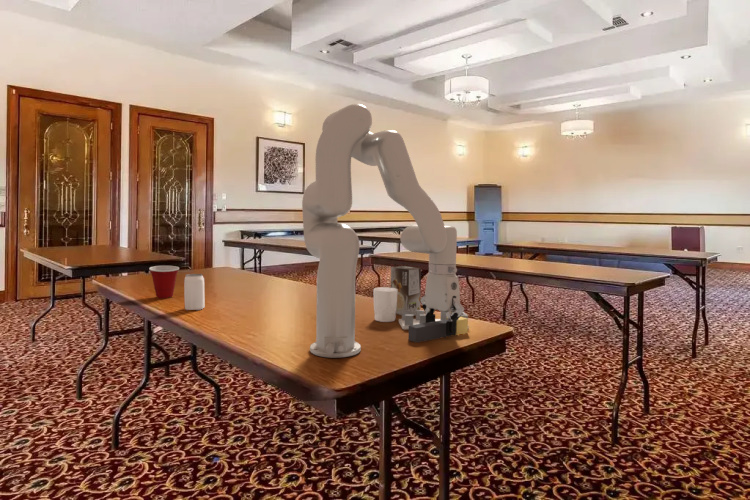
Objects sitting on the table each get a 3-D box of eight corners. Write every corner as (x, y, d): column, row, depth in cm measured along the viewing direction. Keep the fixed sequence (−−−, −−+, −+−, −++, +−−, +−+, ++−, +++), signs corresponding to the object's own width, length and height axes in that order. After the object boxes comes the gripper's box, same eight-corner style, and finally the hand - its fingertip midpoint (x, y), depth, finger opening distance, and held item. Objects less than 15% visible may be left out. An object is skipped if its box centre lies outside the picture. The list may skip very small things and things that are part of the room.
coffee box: (421, 314, 155) (422, 268, 154) (408, 317, 151) (409, 269, 150) (402, 310, 162) (403, 265, 161) (389, 312, 158) (390, 266, 156)
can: (185, 307, 160) (185, 273, 159) (205, 306, 162) (204, 273, 161) (183, 311, 154) (183, 276, 153) (204, 310, 156) (203, 275, 155)
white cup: (393, 323, 142) (393, 292, 141) (369, 321, 144) (369, 290, 143) (399, 318, 149) (400, 288, 148) (377, 316, 152) (377, 286, 151)
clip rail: (468, 329, 136) (468, 315, 136) (402, 329, 135) (403, 316, 134) (460, 321, 145) (460, 309, 145) (398, 322, 144) (398, 309, 143)
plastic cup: (153, 301, 170) (153, 269, 170) (146, 296, 179) (145, 266, 178) (183, 297, 177) (183, 267, 176) (175, 293, 186) (174, 264, 185)
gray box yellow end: (417, 343, 120) (417, 327, 120) (407, 339, 124) (407, 323, 124) (467, 333, 131) (468, 318, 131) (456, 330, 135) (457, 315, 134)
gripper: (474, 272, 122) (472, 336, 123) (431, 266, 136) (429, 323, 137) (454, 274, 117) (452, 340, 119) (411, 267, 132) (410, 326, 133)
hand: (440, 331), depth 128 cm, fingers open, 7 cm apart
